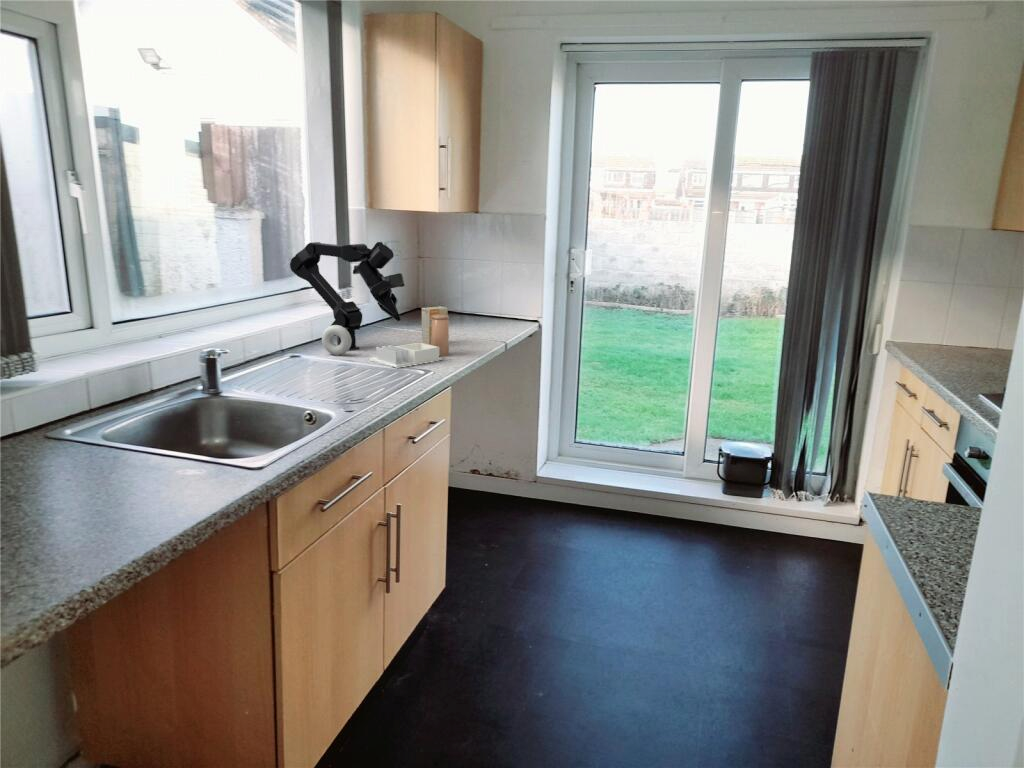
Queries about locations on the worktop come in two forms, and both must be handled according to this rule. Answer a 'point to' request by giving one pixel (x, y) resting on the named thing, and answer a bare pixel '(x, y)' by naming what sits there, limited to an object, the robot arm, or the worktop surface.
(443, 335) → the tumbler
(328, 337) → the donut
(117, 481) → the worktop surface
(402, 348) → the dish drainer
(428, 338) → the supplement box
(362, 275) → the robot arm
